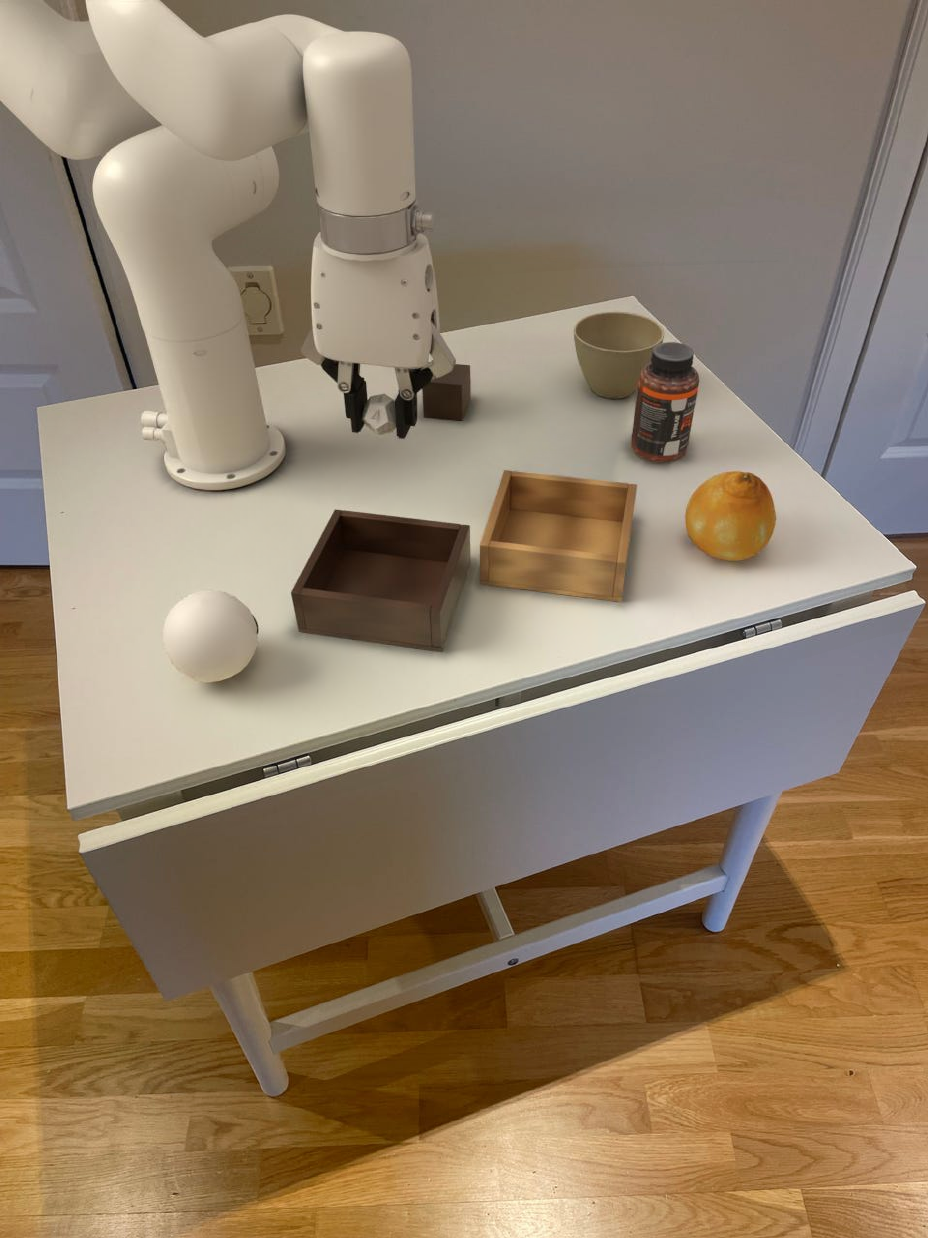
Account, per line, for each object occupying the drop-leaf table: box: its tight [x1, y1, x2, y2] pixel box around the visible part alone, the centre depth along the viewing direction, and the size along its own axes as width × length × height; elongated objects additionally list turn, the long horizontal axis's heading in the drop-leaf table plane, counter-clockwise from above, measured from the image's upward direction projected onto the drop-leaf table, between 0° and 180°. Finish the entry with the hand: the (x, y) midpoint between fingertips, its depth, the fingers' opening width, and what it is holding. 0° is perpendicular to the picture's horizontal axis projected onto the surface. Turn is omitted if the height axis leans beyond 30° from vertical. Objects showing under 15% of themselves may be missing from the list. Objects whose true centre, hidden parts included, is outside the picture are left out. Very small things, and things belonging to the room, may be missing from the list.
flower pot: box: [573, 311, 665, 400], centre depth 104 cm, size 10×10×7 cm
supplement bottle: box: [630, 341, 700, 463], centre depth 93 cm, size 6×6×11 cm
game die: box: [362, 393, 396, 437], centre depth 82 cm, size 4×4×3 cm
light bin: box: [479, 469, 638, 603], centre depth 83 cm, size 13×12×4 cm
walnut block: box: [421, 363, 472, 422], centre depth 102 cm, size 4×4×4 cm
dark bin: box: [290, 509, 472, 653], centre depth 79 cm, size 13×12×4 cm
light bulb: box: [162, 589, 259, 683], centre depth 73 cm, size 10×7×7 cm
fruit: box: [684, 470, 777, 562], centre depth 83 cm, size 8×8×8 cm
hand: (382, 425), depth 83 cm, fingers closed on game die, 3 cm apart
